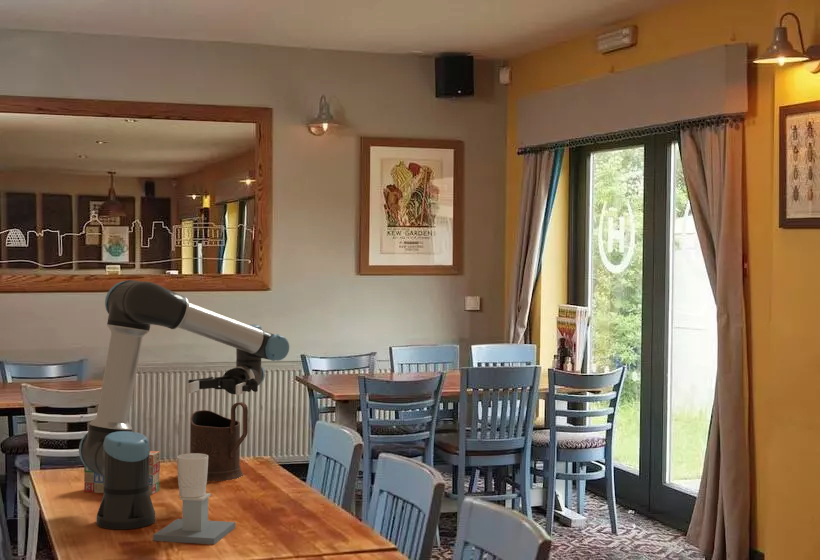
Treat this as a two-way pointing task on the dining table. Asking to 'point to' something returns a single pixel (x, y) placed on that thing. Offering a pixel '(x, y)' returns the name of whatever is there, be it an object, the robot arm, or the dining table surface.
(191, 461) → the white cup
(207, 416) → the cup holder
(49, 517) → the dining table surface
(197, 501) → the narrow pillar
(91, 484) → the stack of blocks
